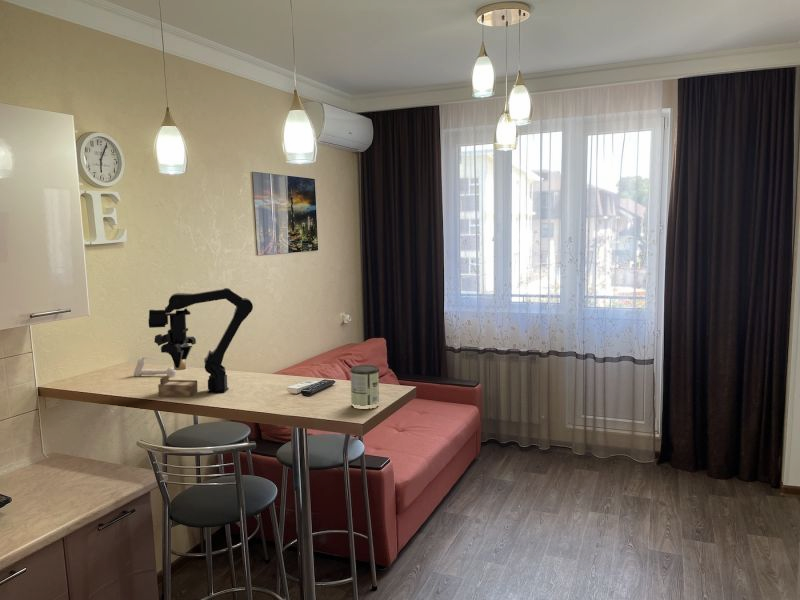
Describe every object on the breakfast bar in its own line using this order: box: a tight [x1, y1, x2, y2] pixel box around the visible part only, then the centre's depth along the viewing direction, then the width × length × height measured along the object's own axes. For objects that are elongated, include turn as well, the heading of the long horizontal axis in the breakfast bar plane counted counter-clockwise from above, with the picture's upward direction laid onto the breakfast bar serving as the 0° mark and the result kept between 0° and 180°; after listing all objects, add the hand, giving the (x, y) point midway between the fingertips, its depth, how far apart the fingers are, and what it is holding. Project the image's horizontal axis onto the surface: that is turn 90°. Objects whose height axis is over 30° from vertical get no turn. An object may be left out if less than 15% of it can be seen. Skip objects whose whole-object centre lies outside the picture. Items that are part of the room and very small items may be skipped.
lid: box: [160, 375, 196, 387], centre depth 234 cm, size 12×6×3 cm, turn 87°
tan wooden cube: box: [173, 359, 187, 371], centre depth 233 cm, size 4×4×4 cm
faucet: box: [133, 356, 177, 378], centre depth 262 cm, size 4×18×10 cm, turn 91°
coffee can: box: [350, 364, 380, 406], centre depth 219 cm, size 10×10×14 cm
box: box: [157, 379, 198, 398], centre depth 234 cm, size 12×8×4 cm, turn 87°
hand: (179, 366), depth 233 cm, fingers closed on tan wooden cube, 4 cm apart
